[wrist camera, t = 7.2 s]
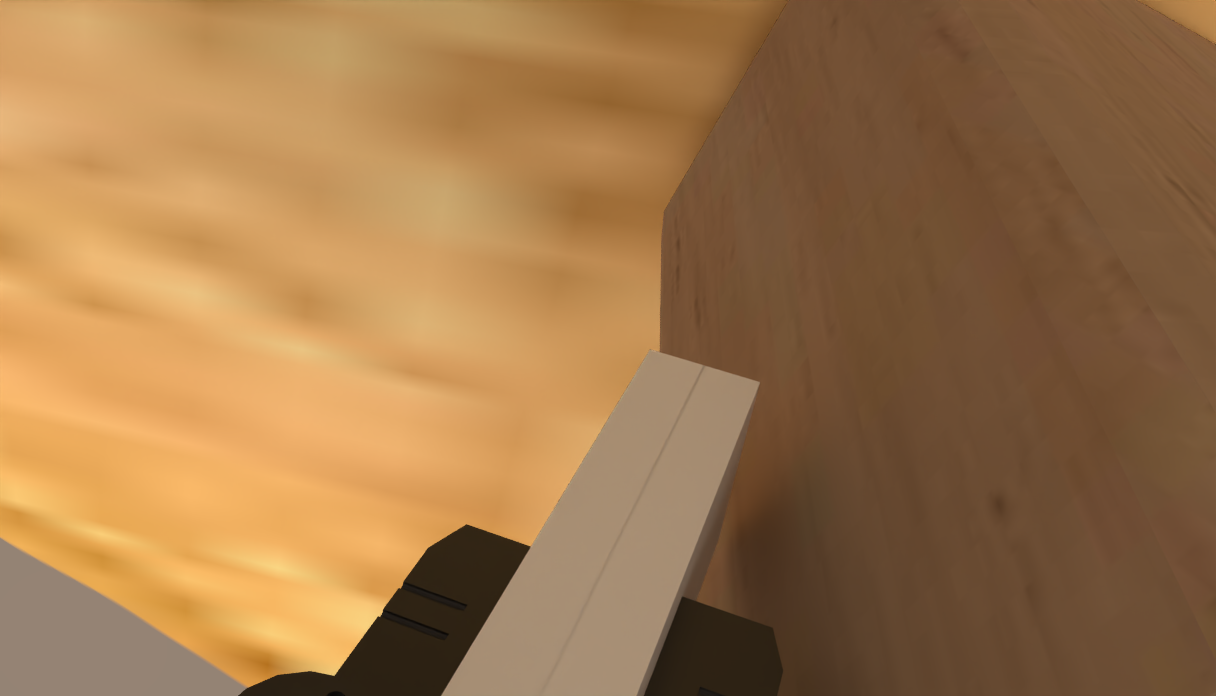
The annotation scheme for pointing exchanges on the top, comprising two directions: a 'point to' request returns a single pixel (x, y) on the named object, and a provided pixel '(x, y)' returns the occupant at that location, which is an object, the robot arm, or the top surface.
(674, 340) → the block
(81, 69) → the top surface
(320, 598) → the top surface
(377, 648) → the robot arm
